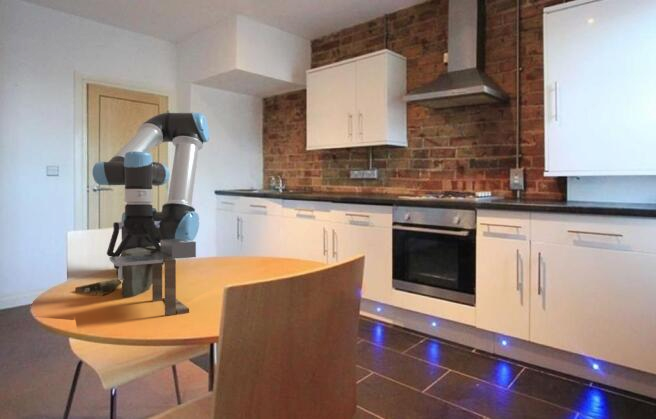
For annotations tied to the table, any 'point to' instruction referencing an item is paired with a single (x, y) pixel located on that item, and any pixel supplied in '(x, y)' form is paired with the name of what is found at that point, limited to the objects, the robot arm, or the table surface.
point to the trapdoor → (160, 253)
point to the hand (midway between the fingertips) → (139, 277)
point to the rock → (99, 287)
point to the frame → (167, 287)
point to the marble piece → (137, 273)
